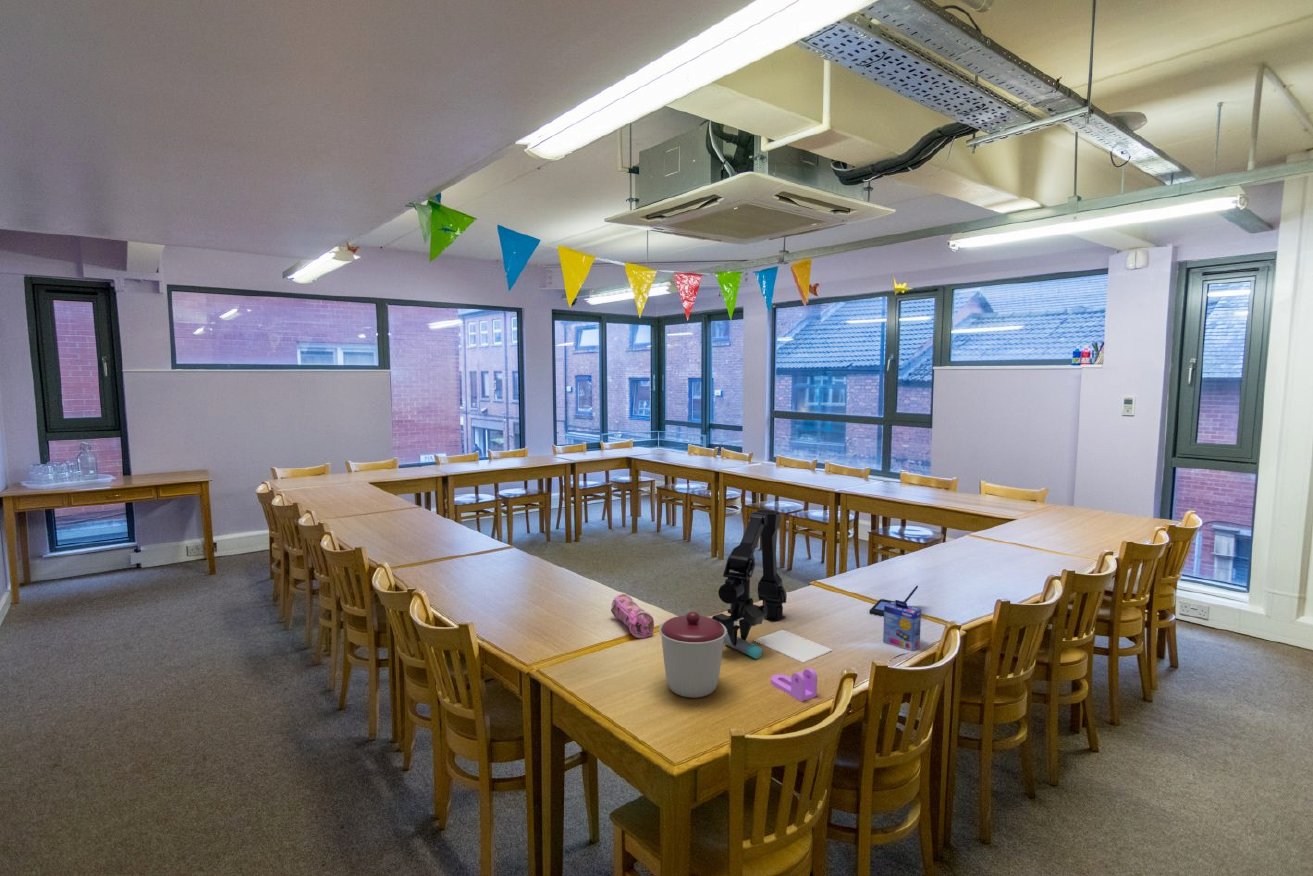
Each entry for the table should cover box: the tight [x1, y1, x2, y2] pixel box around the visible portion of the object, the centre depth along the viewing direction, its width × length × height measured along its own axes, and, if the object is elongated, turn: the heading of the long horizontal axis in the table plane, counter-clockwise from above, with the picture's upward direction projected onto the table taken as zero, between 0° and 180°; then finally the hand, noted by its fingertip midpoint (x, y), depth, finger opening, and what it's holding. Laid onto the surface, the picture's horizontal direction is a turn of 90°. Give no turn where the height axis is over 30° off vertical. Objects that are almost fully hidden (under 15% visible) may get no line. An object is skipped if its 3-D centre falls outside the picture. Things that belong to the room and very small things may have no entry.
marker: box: [723, 633, 763, 660], centre depth 194 cm, size 15×4×4 cm, turn 38°
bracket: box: [770, 667, 818, 702], centre depth 170 cm, size 13×6×7 cm, turn 33°
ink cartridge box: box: [882, 599, 922, 652], centre depth 199 cm, size 10×6×14 cm, turn 44°
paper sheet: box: [753, 629, 834, 664], centre depth 198 cm, size 20×14×1 cm
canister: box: [658, 611, 727, 698], centre depth 169 cm, size 18×18×21 cm
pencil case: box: [610, 593, 655, 639], centre depth 211 cm, size 21×9×9 cm, turn 23°
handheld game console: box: [868, 585, 919, 618], centre depth 228 cm, size 16×13×9 cm
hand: (738, 644), depth 194 cm, fingers closed on marker, 4 cm apart
